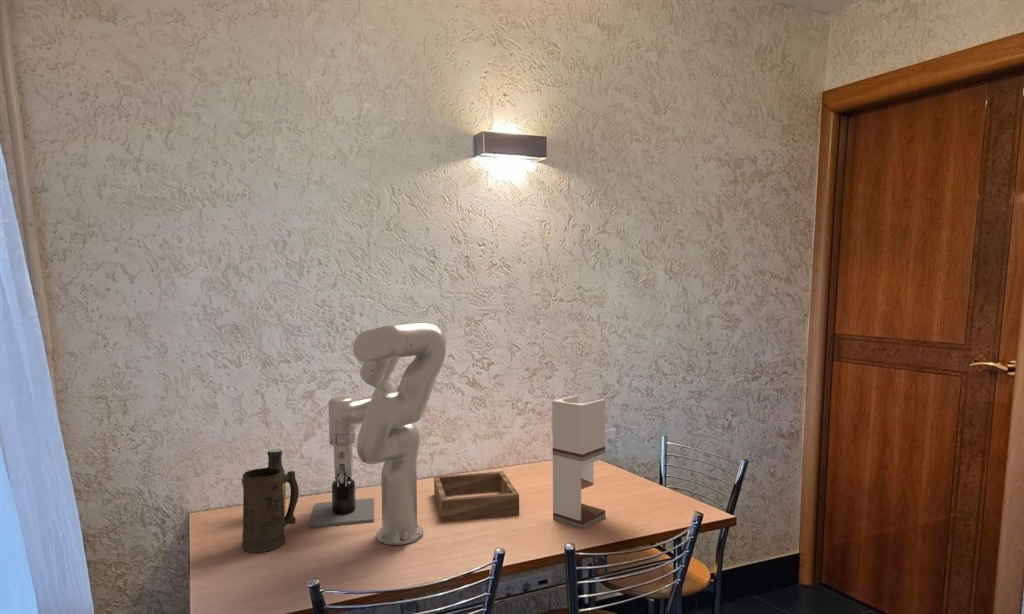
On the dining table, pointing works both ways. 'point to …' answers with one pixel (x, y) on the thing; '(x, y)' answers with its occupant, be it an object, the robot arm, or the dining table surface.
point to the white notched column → (576, 457)
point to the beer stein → (266, 508)
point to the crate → (478, 504)
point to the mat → (327, 518)
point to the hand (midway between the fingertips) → (343, 493)
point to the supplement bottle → (343, 505)
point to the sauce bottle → (275, 462)
